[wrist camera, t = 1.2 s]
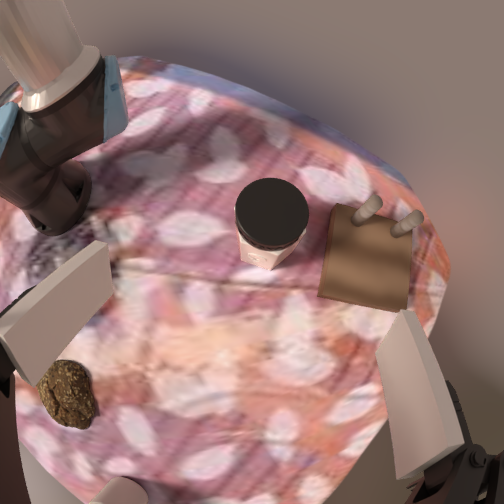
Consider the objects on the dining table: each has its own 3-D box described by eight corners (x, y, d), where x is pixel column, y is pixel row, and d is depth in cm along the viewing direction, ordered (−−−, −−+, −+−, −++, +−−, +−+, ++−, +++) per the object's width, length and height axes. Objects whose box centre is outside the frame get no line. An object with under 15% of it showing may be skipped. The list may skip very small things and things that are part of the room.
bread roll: (37, 361, 34) (20, 363, 29) (84, 356, 35) (67, 359, 30) (56, 426, 31) (41, 433, 26) (106, 428, 32) (92, 438, 27)
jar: (226, 256, 40) (219, 229, 28) (245, 208, 42) (246, 167, 30) (284, 277, 39) (301, 258, 28) (300, 227, 41) (320, 192, 30)
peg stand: (396, 312, 38) (433, 307, 29) (317, 296, 39) (340, 287, 29) (403, 232, 42) (436, 210, 32) (331, 210, 42) (353, 180, 33)
